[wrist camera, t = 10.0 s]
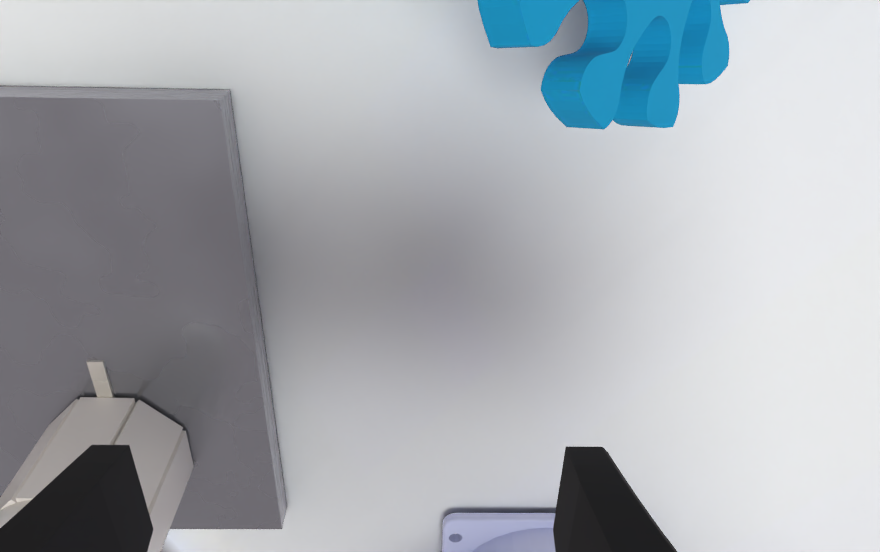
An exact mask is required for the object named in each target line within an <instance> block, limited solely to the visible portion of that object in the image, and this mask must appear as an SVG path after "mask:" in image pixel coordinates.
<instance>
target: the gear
mask: <svg viewBox="0 0 880 552" xmlns="http://www.w3.org/2000/svg"><path fill="white" fill-rule="evenodd" d="M578 1H579V0H478V5H479V10H480V14H481V18H482V22H483V25H484V28H485V31H486V34H487V37H488V40H489V43H490V46H491V47H494V48H514V47H538V46H543V45H545V44H547V43H548V42H549V41H551V39H552V38H553V37H554V36H555V34H556V33H557V31H558V29H559V27H560V25H561V23H562V21H563V19H564V18H565V16H566V15H567V14H568V12H569V11H570V9H571V8H572V7H573V6H574V5H575V4H576V3H577V2H578ZM583 1H584V3H585V5H586V9H587V13H588V31H587V35H586V38H585V41H584V43H583V45H582V46H581V48H580V49H579V50H578V51H577V52H574V53H571V54H567V55H562V56H559V57H557V58H556V59H554V60H553V61H552V62H551V63H550V65H549V66H548V68H547V70H546V72H545V74H544V77H543V81H542V86H541V91H542V94H543V96H544V99H545V101H546V103H547V105H548V106H549V108H550V110H551V111H552V112H553V113H554V115H555V116H556V117H557V118H558V119H559V120H560V121H561V122H562V123H563V124H564V125H565V126H566V127H577V128H593V129H605V128H606V127H607V126H608V125H609V124H610V123H611V121H612V120H613V121H614V122H616V123H618V124H620V125H626V126H642V127H660V128H667V127H673V125H674V123H675V121H676V117H677V114H678V108H679V84H708V83H711V82H712V81H714V80H715V79H716V78H717V77H718V76H719V75H720V74H721V73H722V72H723V71H724V70H725V68H726V67H727V66H728V60H729V42H728V37H727V34H726V31H725V29H724V25H723V21H722V17H721V10H720V5H726V4H740V3H748V2H749V1H750V0H583ZM632 52H633V54H632ZM631 54H632V58H631V60H630V63H629V65H628V66H627V64H628V61H629V58H630V56H631ZM626 67H627V68H626Z"/></svg>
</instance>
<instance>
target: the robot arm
mask: <svg viewBox="0 0 880 552" xmlns="http://www.w3.org/2000/svg"><path fill="white" fill-rule="evenodd" d="M152 533H153V526H152V522H151V519H150V515H149V512H148V508H147V505H146V501H145V498H144V494H143V491H142V487H141V484H140V480H139V477H138V474H137V470H136V467H135V463H134V460H133V456H132V453H131V449H130V446H129V445H91V446H90V447H89V448H88V449H87V450H85V451H84V452H83V453H82V454H81V455H80V456H79V457H78V458H77V459H75V460H74V461H73V462H72V463H71V464H70V465H69V466H68V467H67V468H66V469H65V470H63V471H62V472H61V473H60V474H59V475H58V476H57V477H56V478H55V479H54V480H53V481H51V482H50V483H49V484H48V485H47V486H46V487H45V488H44V489H43V490H42V491H41V492H40V493H38V494H37V495H36V496H35V497H34V498H33V499H32V500H31V501H30V502H29V503H28V504H26V505H25V506H24V507H23V508H22V509H21V510H20V511H19V512H18V513H17V514H16V515H14V516H13V517H12V518H11V519H10V520H9V521H8V522H7V523H6V524H4V525H3V526H2V527H1V528H0V552H147V551H148V547H149V544H150V540H151V537H152ZM455 533H457V534H455ZM442 552H677V551H676V549H675V548H674V547H673V546H672V544H671V543H670V542H669V540H668V539H667V538H666V536H665V535H664V534H663V532H662V531H661V530H660V528H659V527H658V526H657V524H656V523H655V521H654V520H653V519H652V517H651V516H650V515H649V513H648V512H647V510H646V509H645V507H644V506H643V505H642V503H641V502H640V500H639V499H638V497H637V496H636V494H635V493H634V492H633V490H632V489H631V487H630V486H629V484H628V483H627V481H626V480H625V478H624V477H623V475H622V474H621V472H620V471H619V469H618V467H617V466H616V464H615V463H614V461H613V460H612V458H611V457H610V455H609V453H608V452H607V451H606V450H605V449H604V448H603V447H566V450H565V456H564V462H563V469H562V475H561V481H560V488H559V494H558V500H557V507H556V513H451V514H449V515H447V516H446V517H445V518H444V520H443V530H442Z"/></svg>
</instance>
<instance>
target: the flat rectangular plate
mask: <svg viewBox="0 0 880 552" xmlns="http://www.w3.org/2000/svg"><path fill="white" fill-rule="evenodd" d="M80 397H100V398H135V402H137V401H138V400H141V401H142V402H144V403H146V404H147V405H149V406H150V407H152V408H153V409H155V410H157V411H158V412H160V413H161V414H163V415H164V416H166V417H168V418H169V419H171V420H172V421H174V422H175V423H177V424H179V425H180V426H182V427H183V429H182V430H183V431H186V434H187V438H188V443H189V447H190V452H191V456H192V461H193V465H194V467H193V470H192V472H191V475H190V478H189V480H188V483H187V485H186V488H185V491H184V493H183V496H182V498H181V501H180V503H179V506H178V509H177V511H176V514H175V516H174V519H173V522H172V524H171V527H170V529H282V527H283V522H284V518H285V513H286V509H287V505H286V497H285V490H284V483H283V475H282V468H281V461H280V453H279V446H278V439H277V431H276V424H275V417H274V409H273V402H272V395H271V387H270V380H269V373H268V365H267V358H266V351H265V343H264V336H263V329H262V321H261V314H260V307H259V299H258V292H257V285H256V277H255V270H254V263H253V255H252V248H251V241H250V233H249V226H248V219H247V211H246V204H245V197H244V189H243V182H242V175H241V167H240V160H239V153H238V145H237V138H236V131H235V123H234V116H233V109H232V101H231V94H230V90H209V89H149V88H90V87H31V86H0V497H1V496H2V494H3V493H4V491H5V490H6V488H7V487H8V485H9V484H10V482H11V481H12V479H13V478H14V476H15V475H16V473H17V472H18V470H19V469H20V467H21V466H22V464H23V463H24V461H25V460H26V458H27V457H28V455H29V454H30V452H31V451H32V449H33V448H34V446H35V445H36V443H37V442H38V440H39V439H40V437H41V436H42V434H43V433H44V431H45V430H46V428H47V427H48V425H49V424H51V423H52V422H53V421H54V420H55V419H56V418H57V417H58V416H59V415H60V414H61V413H62V412H63V411H64V410H65V409H66V408H67V407H68V406H69V405H70V404H71V403H72V402H73V401H74V400H76V399H78V400H79V399H80Z"/></svg>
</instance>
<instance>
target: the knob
mask: <svg viewBox="0 0 880 552" xmlns="http://www.w3.org/2000/svg"><path fill="white" fill-rule="evenodd" d="M182 429H183V427H182V426H180V425H179V424H177V423H175V422H174V421H172V420H171V419H169V418H168V417H166V416H164V415H163V414H161V413H160V412H158V411H157V410H155V409H153V408H152V407H150V406H149V405H147V404H146V403H144V402H142V401H141V400H138V401H137V402H135V398H100V397H80V399H79V400H78V399H76V400H74V401H73V402H72V403H71V404H70V405H69V406H68V407H67V408H66V409H65V410H64V411H63V412H62V413H61V414H60V415H59V416H58V417H57V418H56V419H55V420H54V421H53V422H52V423H51V424H49V425H48V427H47V428H46V430H45V431H44V433H43V434H42V436H41V437H40V439H39V440H38V442H37V443H36V445H35V446H34V448H33V449H32V451H31V452H30V454H29V455H28V457H27V458H26V460H25V461H24V463H23V464H22V466H21V467H20V469H19V470H18V472H17V473H16V475H15V476H14V478H13V479H12V481H11V482H10V484H9V485H8V487H7V488H6V490H5V491H4V493H3V494H2V496H1V497H0V528H1V527H2V526H3V525H4V524H6V523H7V522H8V521H9V520H10V519H11V518H12V517H13V516H14V515H16V514H17V513H18V512H19V511H20V510H21V509H22V508H23V507H24V506H25V505H26V504H28V503H29V502H30V501H31V500H32V499H33V498H34V497H35V496H36V495H37V494H38V493H40V492H41V491H42V490H43V489H44V488H45V487H46V486H47V485H48V484H49V483H50V482H51V481H53V480H54V479H55V478H56V477H57V476H58V475H59V474H60V473H61V472H62V471H63V470H65V469H66V468H67V467H68V466H69V465H70V464H71V463H72V462H73V461H74V460H75V459H77V458H78V457H79V456H80V455H81V454H82V453H83V452H84V451H85V450H87V449H88V448H89V447H90V446H91V445H129V446H130V449H131V453H132V456H133V460H134V463H135V467H136V470H137V474H138V477H139V480H140V484H141V487H142V491H143V494H144V498H145V501H146V505H147V508H148V512H149V515H150V519H151V522H152V526H153V533H152V537H151V540H150V544H149V547H148V551H147V552H161V550H162V548H163V545H164V542H165V540H166V537H167V535H168V532H169V529H170V527H171V524H172V522H173V519H174V516H175V514H176V511H177V509H178V506H179V503H180V501H181V498H182V496H183V493H184V491H185V488H186V485H187V483H188V480H189V478H190V475H191V472H192V470H193V467H194V465H193V461H192V456H191V452H190V447H189V443H188V438H187V434H186V431H183V430H182Z"/></svg>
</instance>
